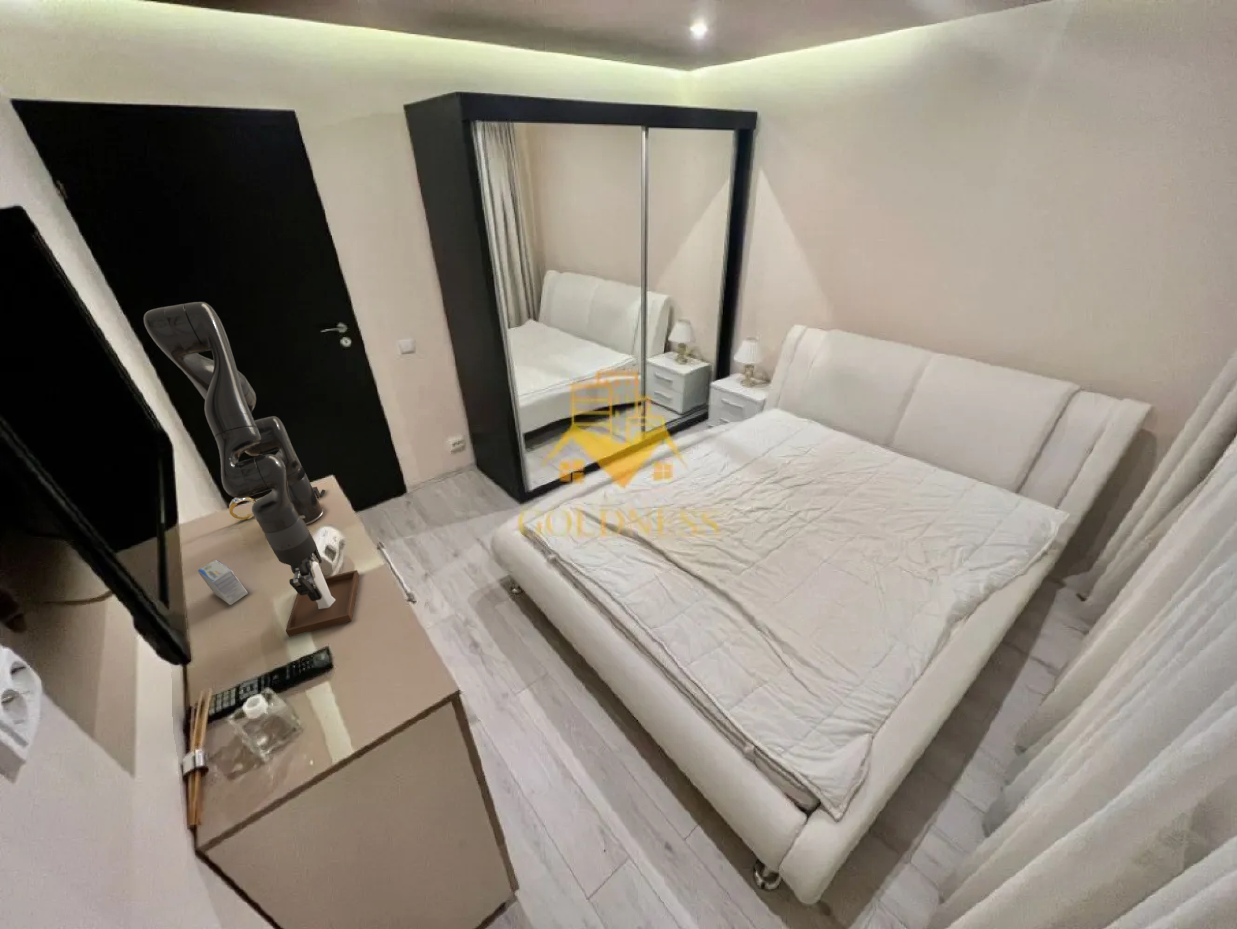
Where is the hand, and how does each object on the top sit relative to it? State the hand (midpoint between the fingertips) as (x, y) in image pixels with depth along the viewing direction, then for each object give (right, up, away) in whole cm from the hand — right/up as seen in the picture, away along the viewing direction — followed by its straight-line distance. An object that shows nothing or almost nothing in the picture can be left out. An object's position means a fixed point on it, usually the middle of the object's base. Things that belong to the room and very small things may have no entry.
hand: (319, 590), depth 114 cm
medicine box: (-26, -3, +7) cm, 27 cm away
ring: (-42, +14, +33) cm, 55 cm away
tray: (0, -4, +3) cm, 5 cm away
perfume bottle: (0, -4, +2) cm, 4 cm away
